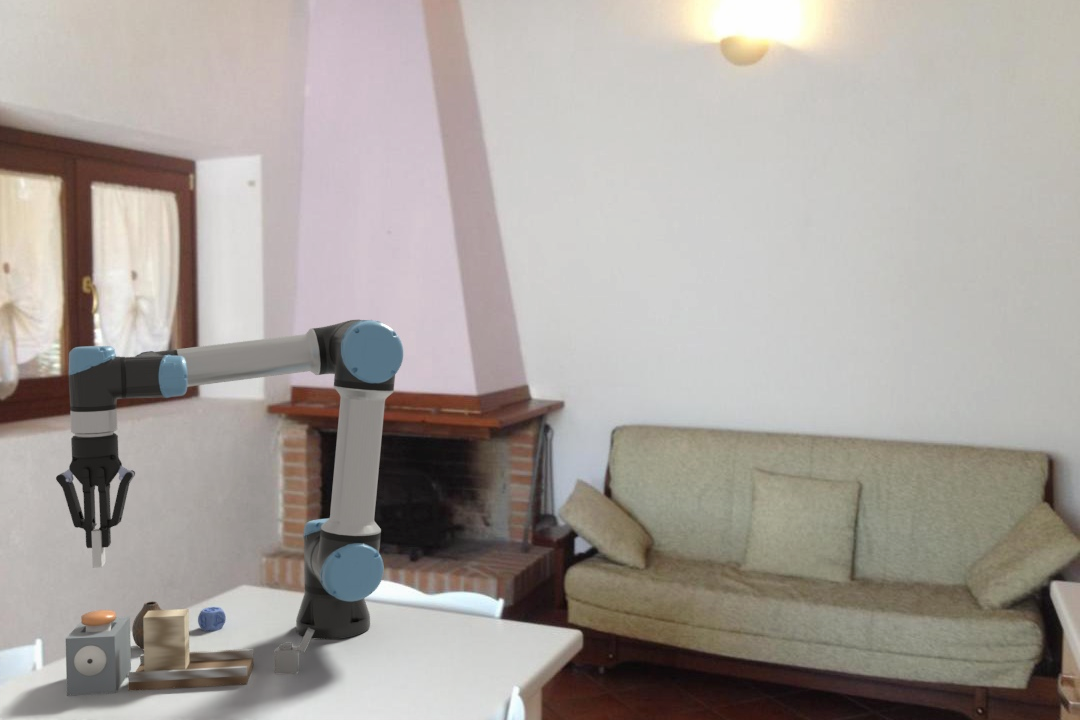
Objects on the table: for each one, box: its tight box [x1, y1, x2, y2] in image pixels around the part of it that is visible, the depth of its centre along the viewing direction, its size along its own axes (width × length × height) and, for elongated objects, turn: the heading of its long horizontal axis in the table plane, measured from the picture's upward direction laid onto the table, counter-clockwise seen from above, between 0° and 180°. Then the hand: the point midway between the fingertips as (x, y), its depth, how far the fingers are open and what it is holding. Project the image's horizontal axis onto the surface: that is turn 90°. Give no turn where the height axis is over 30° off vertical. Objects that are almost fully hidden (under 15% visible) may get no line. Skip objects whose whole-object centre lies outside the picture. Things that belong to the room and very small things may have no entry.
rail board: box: [127, 648, 254, 692], centre depth 182 cm, size 20×10×3 cm, turn 99°
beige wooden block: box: [143, 608, 190, 671], centre depth 181 cm, size 7×4×10 cm, turn 99°
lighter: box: [274, 628, 315, 675], centre depth 185 cm, size 7×2×8 cm, turn 95°
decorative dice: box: [197, 606, 227, 632], centre depth 209 cm, size 4×4×4 cm
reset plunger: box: [80, 609, 117, 632], centre depth 179 cm, size 6×6×8 cm
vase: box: [131, 601, 163, 651], centre depth 198 cm, size 7×7×9 cm
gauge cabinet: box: [65, 616, 132, 696], centre depth 179 cm, size 8×12×10 cm
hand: (99, 565), depth 178 cm, fingers closed
